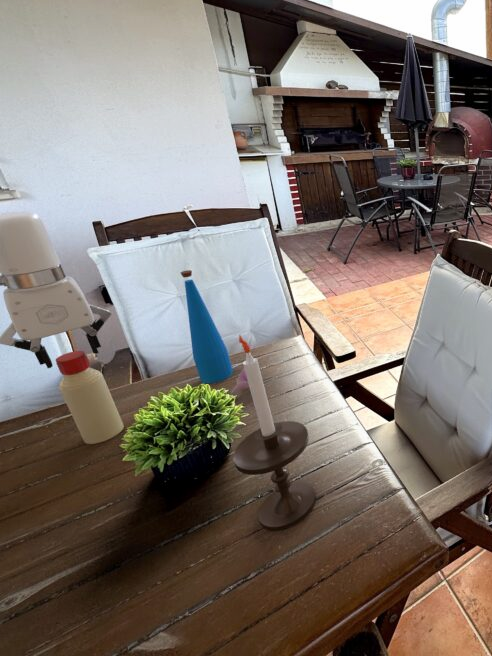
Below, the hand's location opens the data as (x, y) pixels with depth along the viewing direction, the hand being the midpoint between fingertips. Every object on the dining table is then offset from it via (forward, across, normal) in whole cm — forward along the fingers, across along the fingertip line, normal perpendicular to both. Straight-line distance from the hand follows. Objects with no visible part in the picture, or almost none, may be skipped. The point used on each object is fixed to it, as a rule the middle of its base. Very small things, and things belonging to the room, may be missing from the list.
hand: (73, 357), depth 82 cm
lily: (+20, +25, -10) cm, 33 cm away
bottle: (+20, +23, +6) cm, 31 cm away
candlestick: (+20, +18, -51) cm, 57 cm away
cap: (+3, 0, 0) cm, 3 cm away
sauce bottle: (+19, 0, 0) cm, 19 cm away
